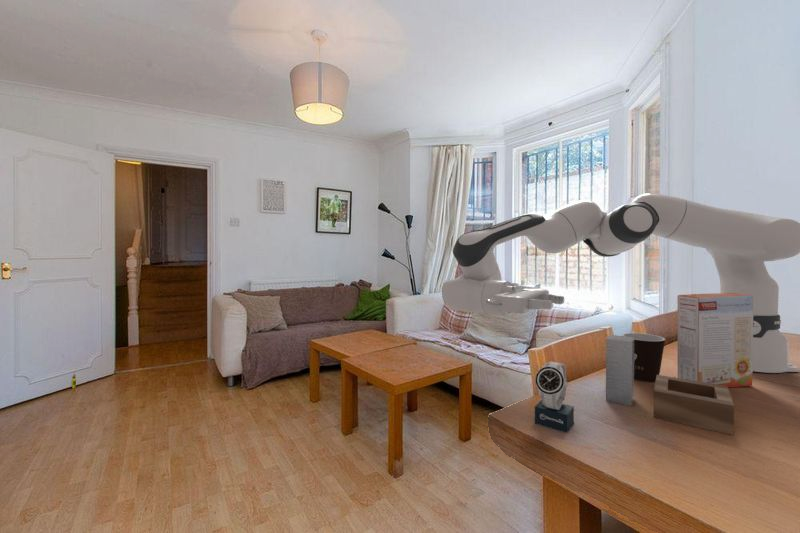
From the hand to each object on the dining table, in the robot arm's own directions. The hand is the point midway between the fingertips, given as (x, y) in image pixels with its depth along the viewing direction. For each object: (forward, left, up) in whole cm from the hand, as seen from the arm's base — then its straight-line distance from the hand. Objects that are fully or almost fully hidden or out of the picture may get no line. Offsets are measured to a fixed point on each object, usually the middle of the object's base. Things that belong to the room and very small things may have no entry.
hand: (558, 302), depth 82 cm
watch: (+19, +4, -20) cm, 28 cm away
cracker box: (-23, +28, -20) cm, 41 cm away
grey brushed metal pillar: (0, +12, -19) cm, 23 cm away
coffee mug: (-20, +14, -20) cm, 31 cm away
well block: (0, +24, -19) cm, 31 cm away
